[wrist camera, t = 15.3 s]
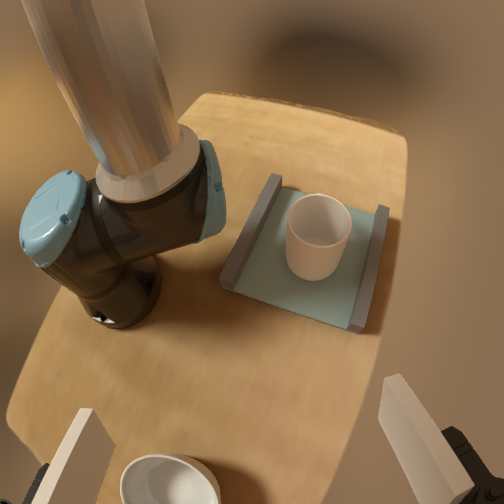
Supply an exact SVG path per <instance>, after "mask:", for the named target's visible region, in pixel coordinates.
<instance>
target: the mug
mask: <svg viewBox="0 0 504 504" xmlns="http://www.w3.org/2000/svg"><path fill="white" fill-rule="evenodd" d="M351 228H352V219H351V216H350V213H349V211H348V210H347V208H346V207H345V206H344V205H343V204H342V203H341V202H340V201H338V200H337V199H335V198H333V197H330V196H327V195H323V194H322V193H318V194H310V195H306V196H303V197H301V198H299V199H298V200H296V201H295V202H294V203H293V204H292V205H291V207H290V209H289V211H288V214H287V231H286V261H287V264H288V266H289V268H290V269H291V271H292V272H293V273H294V274H295V275H297V276H298V277H300V278H302V279H305V280H309V281H318V280H322V279H325V278H327V277H329V276H330V275H331V274H332V273H333V272H334V271H335V270H336V268H337V266H338V264H339V261H340V259H341V256H342V254H343V251H344V248H345V245H346V243H347V240H348V237H349V234H350V232H351Z"/></svg>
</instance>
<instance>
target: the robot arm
mask: <svg viewBox="0 0 504 504" xmlns="http://www.w3.org/2000/svg"><path fill="white" fill-rule="evenodd" d="M21 1H22V4H23V6H24V9H25V12H26V14H27V17H28V20H29V22H30V25H31V27H32V29H33V32H34V34H35V37H36V39H37V41H38V43H39V46H40V48H41V50H42V52H43V55H44V57H45V59H46V61H47V64H48V65H49V68H50V70H51V72H52V74H53V76H54V78H55V80H56V82H57V84H58V86H59V88H60V90H61V92H62V94H63V96H64V98H65V100H66V102H67V104H68V106H69V108H70V110H71V112H72V114H73V116H74V117H75V119H76V121H77V123H78V125H79V127H80V128H81V130H82V132H83V134H84V136H85V137H86V139H87V141H88V143H89V144H90V146H91V148H92V150H93V151H94V153H95V155H96V157H97V158H98V160H99V165H98V168H97V171H96V178H93V179H91V180H88V181H86V180H85V178H84V176H83V175H82V174H79V173H78V172H76V171H72V170H68V171H63V172H61V173H59V174H57V175H55V176H53V177H52V178H51V179H49V180H48V181H47V182H46V183H45V184H44V185H43V186H42V187H41V188H40V189H39V190H38V191H37V192H36V194H35V195H34V196H33V198H32V199H31V201H30V202H29V204H28V206H27V208H26V210H25V212H24V215H23V217H22V221H21V225H20V232H19V236H20V243H21V246H22V249H23V250H24V252H25V253H26V254H27V255H28V256H29V257H30V258H31V259H32V260H33V261H34V263H35V264H36V266H37V267H39V268H41V269H42V270H43V271H45V272H46V273H47V274H49V275H50V276H51V277H53V278H54V279H55V280H57V281H58V282H59V283H61V284H62V285H63V286H65V287H66V288H68V289H69V290H70V291H72V292H73V293H75V294H76V295H77V296H78V298H79V300H80V302H81V304H82V305H83V307H84V309H85V311H86V312H87V313H88V315H89V316H90V317H91V318H92V319H94V320H95V321H97V322H98V323H100V324H102V325H103V326H106V327H109V328H115V329H120V328H126V327H129V326H132V325H134V324H136V323H138V322H139V321H141V320H142V319H143V318H144V317H145V316H146V315H147V314H148V313H149V312H150V311H151V310H152V308H153V307H154V305H155V303H156V301H157V299H158V296H159V293H160V289H161V273H160V269H159V266H158V264H157V262H156V261H155V260H154V258H153V257H152V256H153V255H156V254H159V253H163V252H166V251H169V250H173V249H176V248H179V247H183V246H186V245H190V244H193V243H194V244H196V243H199V242H200V241H202V240H203V239H206V238H208V237H211V236H214V235H216V234H218V233H220V232H221V231H222V229H223V228H224V226H225V223H226V201H225V193H224V189H223V186H222V175H221V171H220V166H219V162H218V159H217V155H216V152H215V150H214V147H213V145H212V144H211V142H210V141H208V140H198V137H197V135H196V134H195V133H194V132H193V130H192V129H190V128H189V127H187V126H185V125H183V124H179V123H178V121H177V118H176V115H175V111H174V108H173V104H172V101H171V98H170V94H169V91H168V87H167V84H166V81H165V77H164V73H163V70H162V66H161V63H160V59H159V56H158V52H157V48H156V45H155V41H154V37H153V34H152V30H151V27H150V22H149V19H148V15H147V11H146V7H145V3H144V0H21ZM378 420H379V422H380V424H381V426H382V428H383V430H384V432H385V434H386V436H387V438H388V440H389V442H390V444H391V446H392V448H393V450H394V452H395V454H396V456H397V458H398V460H399V462H400V464H401V467H402V468H403V471H404V472H405V475H406V477H407V479H408V481H409V483H410V485H411V487H412V490H413V492H414V494H415V495H416V498H417V500H418V502H419V504H504V479H502V478H496V477H494V476H493V475H492V474H491V473H490V472H489V470H488V469H487V468H486V466H485V464H484V463H483V462H482V460H481V459H480V457H479V456H478V454H477V453H476V451H475V450H473V447H472V446H471V445H470V443H468V440H467V439H466V437H465V436H464V434H463V433H462V432H461V431H459V430H458V429H456V428H454V427H453V426H451V427H449V428H447V429H445V430H443V431H440V430H439V429H438V427H437V426H436V424H435V423H434V421H433V420H432V418H431V417H430V416H429V414H428V413H427V411H426V410H425V408H424V407H423V405H422V404H421V402H420V401H419V400H418V398H417V397H416V395H415V394H414V392H413V391H412V390H411V388H410V387H409V385H408V384H407V383H406V381H405V380H404V378H403V377H402V376H401V374H400V373H398V374H395V375H392V376H389V377H385V378H384V384H383V391H382V397H381V403H380V409H379V415H378ZM115 446H116V445H115V443H114V442H113V440H112V439H111V437H110V436H109V434H108V433H107V431H106V429H105V428H104V426H103V425H102V423H101V421H100V420H99V418H98V416H97V415H96V413H95V411H94V410H93V409H88V408H80V410H79V412H78V413H77V415H76V417H75V419H74V421H73V422H72V424H71V426H70V428H69V430H68V431H67V433H66V435H65V437H64V439H63V441H62V443H61V444H60V446H59V448H58V450H57V452H56V454H55V456H54V458H53V460H52V462H51V464H48V463H46V464H45V465H44V466H42V467H41V468H40V469H39V471H38V473H37V475H36V477H35V480H34V481H33V483H32V486H31V487H30V489H29V491H28V493H27V495H26V497H25V499H24V502H23V504H95V503H96V500H97V497H98V494H99V491H100V488H101V485H102V482H103V479H104V477H105V474H106V471H107V468H108V465H109V463H110V460H111V457H112V454H113V452H114V449H115ZM0 504H12V503H11V502H9V501H8V500H5V499H0Z"/></svg>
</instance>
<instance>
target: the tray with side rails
mask: <svg viewBox="0 0 504 504" xmlns="http://www.w3.org/2000/svg"><path fill="white" fill-rule="evenodd" d="M306 195H310V194H306V193H303V192H299V191H295V190H292V189H288V188H284V187H282V176H281V175H277V174H273V173H271V175H270V177H269V179H268V181H267V183H266V185H265V187H264V189H263V191H262V193H261V194H260V196H259V198H258V200H257V202H256V204H255V206H254V208H253V210H252V212H251V214H250V216H249V218H248V220H247V222H246V224H245V226H244V228H243V230H242V232H241V234H240V236H239V238H238V240H237V242H236V244H235V246H234V248H233V249H232V251H231V253H230V255H229V257H228V259H227V261H226V263H225V265H224V267H223V269H222V271H221V273H220V275H219V281H220V283H221V286H222V288H225V289H228V290H230V291H233V292H236V293H239V294H241V295H244V296H247V297H250V298H252V299H255V300H258V301H261V302H264V303H266V304H269V305H272V306H275V307H278V308H281V309H283V310H286V311H289V312H292V313H295V314H298V315H301V316H304V317H307V318H310V319H313V320H316V321H319V322H322V323H325V324H328V325H331V326H334V327H337V328H340V329H343V330H346V331H349V332H353V333H356V334H359V333H360V332H361V331H362V330H363V329H364V327H365V324H366V320H367V316H368V312H369V309H370V305H371V301H372V296H373V292H374V288H375V284H376V279H377V275H378V270H379V265H380V261H381V256H382V250H383V245H384V240H385V234H386V228H387V222H388V216H389V209H390V208H389V207H386V206H383V205H380V204H379V206H378V208H377V211H376V213H375V214H372V213H369V212H366V211H362V210H359V209H356V208H353V207H350V206H347V205H344V206H345V207H346V208H347V210H348V211H349V213H350V216H351V219H352V228H351V232H350V234H349V237H348V240H347V243H346V245H345V248H344V251H343V254H342V256H341V259H340V261H339V264H338V266H337V268H336V270H335V271H334V272H333V273H332V274H331V275H330V276H329V277H327V278H325V279H322V280H318V281H309V280H305V279H302V278H300V277H298V276H297V275H295V274H294V273H293V272H292V271H291V269H290V268H289V266H288V264H287V261H286V231H287V214H288V211H289V209H290V207H291V205H292V204H293V203H294V202H295V201H296V200H298V199H299V198H301V197H303V196H306Z"/></svg>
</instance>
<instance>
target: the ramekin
mask: <svg viewBox="0 0 504 504" xmlns="http://www.w3.org/2000/svg"><path fill="white" fill-rule="evenodd" d="M120 493H121V498H122V501H123V504H221V495H220V486H219V485H218V481H217V480H216V478H215V476H214V475H213V474H212V472H211V471H210V470H209V469H208V468H207V467H206V466H205V465H203V464H201V463H200V462H199V461H197V460H195V459H192V458H191V457H187V456H183V455H176V454H165V453H155V454H149V455H145V456H142V457H140V458H138V459H136V460H134V461H133V462H131V463H130V464H129V465H128V466H127V467H126V469H125V470H124V472H123V474H122V477H121V481H120Z"/></svg>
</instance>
